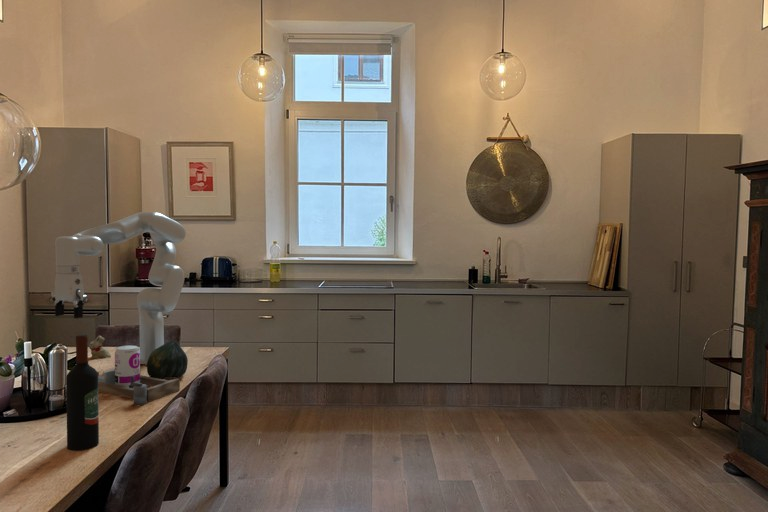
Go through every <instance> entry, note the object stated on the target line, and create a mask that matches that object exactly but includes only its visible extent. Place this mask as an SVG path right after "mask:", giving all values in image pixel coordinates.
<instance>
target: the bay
mask: <svg viewBox="0 0 768 512" xmlns="http://www.w3.org/2000/svg"><path fill="white" fill-rule="evenodd" d="M180 383H181V382H180V378H173V379H170V380H168V379H165V378H164V379H158V378H153V377H150V376H147V375H141V374H140V383H137V382H134V376H131V385H134V386H133V388H129V387H123V386H118V385H113V384H108V383H103V382H98V393H99V392H100V393H105V394H110V395H114V396H119V397H124V398H129V399H133V406H137V405H140V406H144V404H145V405H146V404H147V403H148V402H152V401H154V400H157V399H159V398H162V397H165V396H168V395H170V394H173V393H176V392H179V391H180V390H181V385H180ZM147 385H148V386H147ZM151 386H152V387H151ZM147 387H148V388H147ZM137 407H138V406H137Z"/></svg>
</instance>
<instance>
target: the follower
mask: <svg viewBox="0 0 768 512" xmlns="http://www.w3.org/2000/svg"><path fill="white" fill-rule="evenodd" d="M97 373H98V382H103V383H108V384H113V385H115V368H114V369H110V370H106V371H104V372H102V374H103V375H102V376H101V375H99V374H100V373H99V372H98V371H97Z"/></svg>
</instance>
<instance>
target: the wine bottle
mask: <svg viewBox="0 0 768 512" xmlns="http://www.w3.org/2000/svg"><path fill="white" fill-rule="evenodd" d="M88 336H89V335H88V334H78V335H77V334H76V335H75V358H76V362H75V366H73V368H71V370H70V371H68V373H67V374H66V377H65V378H66V379H65V382H66V383H65V387H66V389H65V391H66V392H65V393H66V395H65V396H66V397H65V398H66V399H65V400H66V449H67V450H69V451H71V452H82V451H88V450H90V449H93V448H95V447H97V446H98V445H99V444H100V439H99V438H100V433H99V431H100V426H99V425H100V423H99V421H100V420H99V418H100V417H99V391H98V373H97V372H98V371H97V370H96V368H94V367H93V366H91V365H90V364H89V349H88V348H89V337H88Z"/></svg>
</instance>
